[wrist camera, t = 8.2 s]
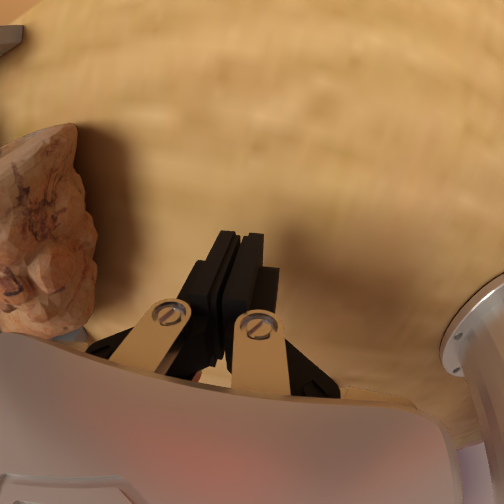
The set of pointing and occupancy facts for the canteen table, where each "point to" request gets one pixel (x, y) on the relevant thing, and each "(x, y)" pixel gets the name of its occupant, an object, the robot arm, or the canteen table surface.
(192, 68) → the canteen table surface
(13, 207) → the clay pipe
